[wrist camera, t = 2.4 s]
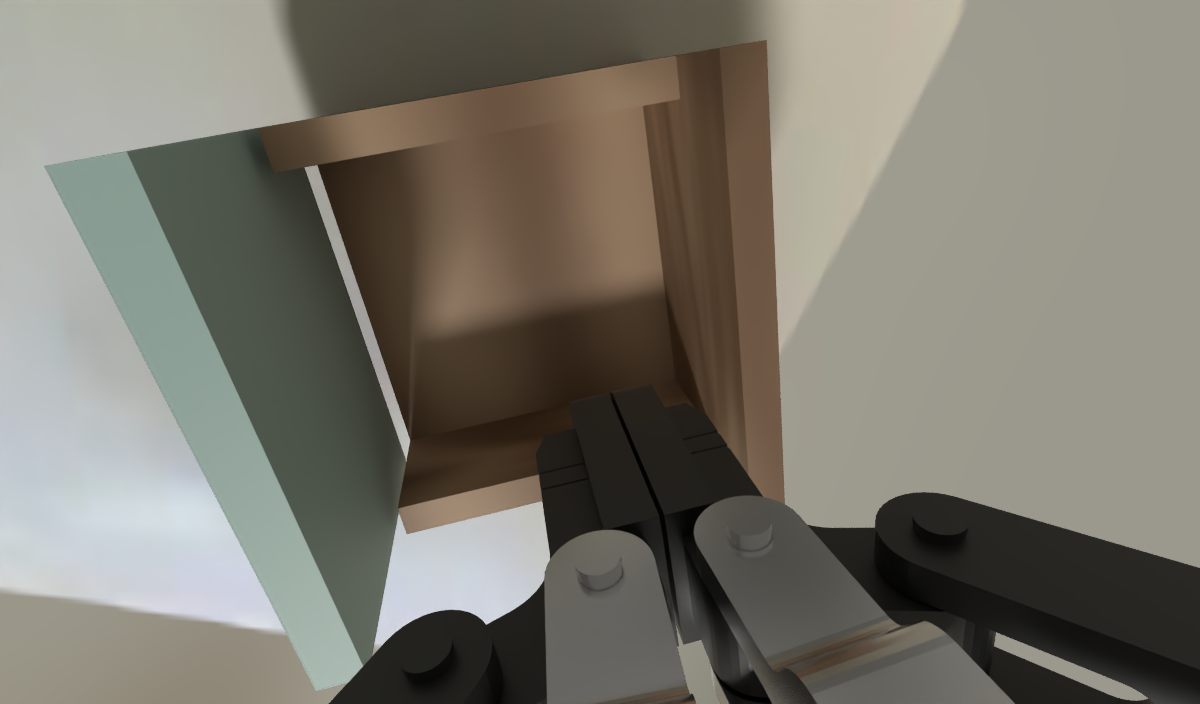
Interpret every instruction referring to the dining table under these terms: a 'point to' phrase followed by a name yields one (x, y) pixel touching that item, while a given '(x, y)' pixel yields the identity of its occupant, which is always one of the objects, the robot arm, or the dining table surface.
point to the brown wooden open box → (560, 262)
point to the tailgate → (256, 370)
